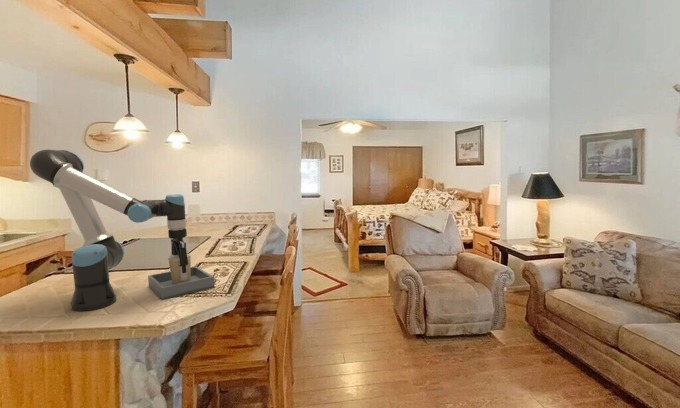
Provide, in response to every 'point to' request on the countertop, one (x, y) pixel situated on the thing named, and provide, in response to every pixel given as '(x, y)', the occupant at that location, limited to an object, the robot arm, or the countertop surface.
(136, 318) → the countertop surface
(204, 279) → the walled box
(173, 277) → the coffee cup
